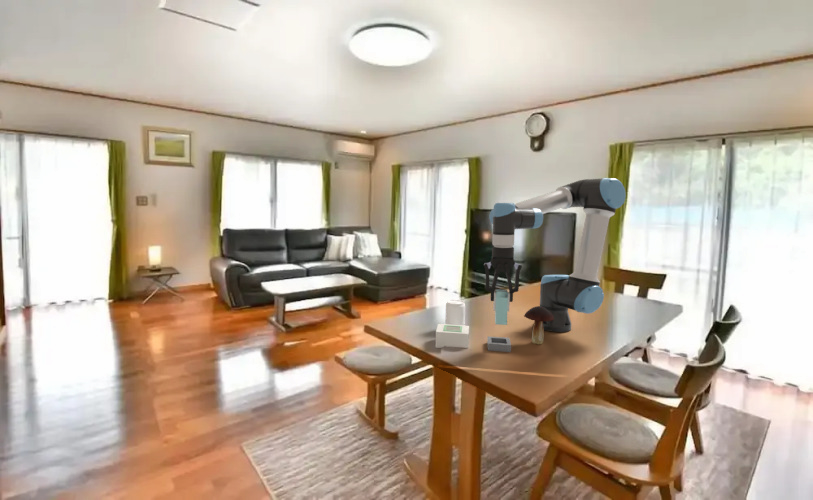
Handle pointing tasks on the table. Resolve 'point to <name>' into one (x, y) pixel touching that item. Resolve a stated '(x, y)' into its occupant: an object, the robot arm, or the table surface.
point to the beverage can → (455, 312)
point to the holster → (499, 344)
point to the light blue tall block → (501, 307)
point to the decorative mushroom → (538, 322)
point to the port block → (452, 336)
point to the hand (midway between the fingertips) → (501, 309)
